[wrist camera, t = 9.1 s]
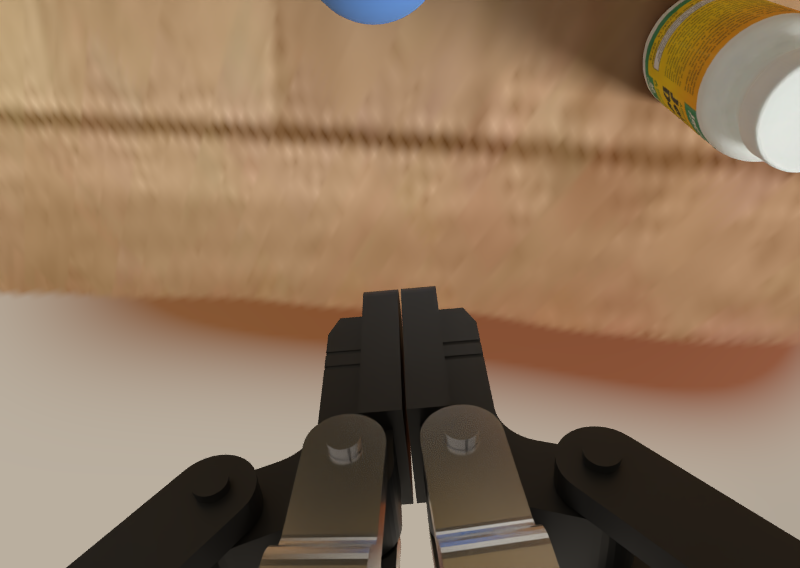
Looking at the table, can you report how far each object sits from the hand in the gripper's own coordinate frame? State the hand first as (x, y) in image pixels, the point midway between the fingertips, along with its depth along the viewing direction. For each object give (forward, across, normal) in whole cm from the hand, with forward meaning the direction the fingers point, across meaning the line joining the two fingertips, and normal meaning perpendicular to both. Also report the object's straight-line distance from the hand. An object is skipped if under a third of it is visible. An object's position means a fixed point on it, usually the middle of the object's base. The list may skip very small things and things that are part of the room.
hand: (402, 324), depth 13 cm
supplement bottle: (+19, -14, 0) cm, 24 cm away
